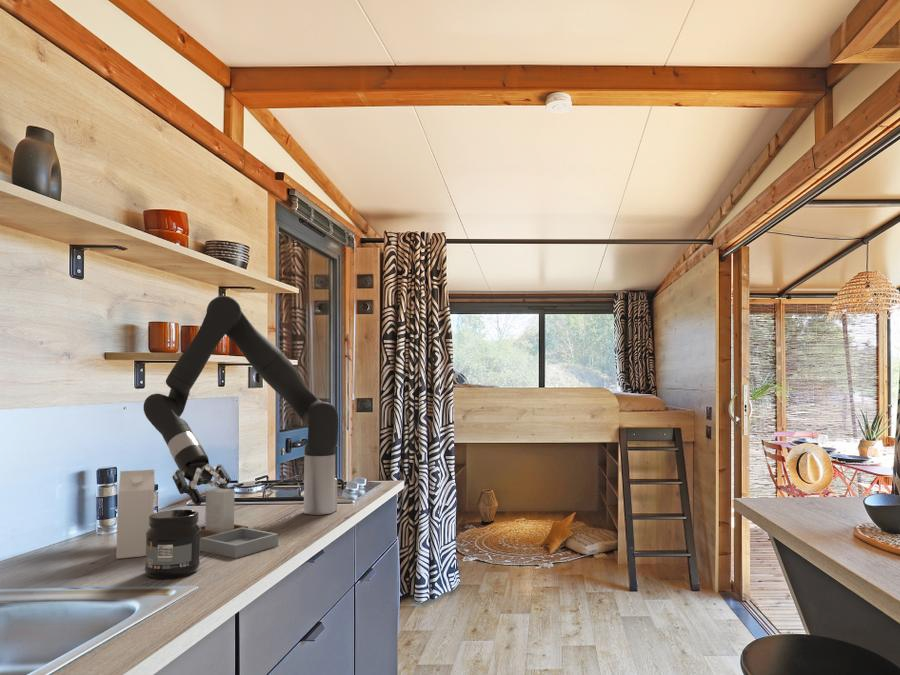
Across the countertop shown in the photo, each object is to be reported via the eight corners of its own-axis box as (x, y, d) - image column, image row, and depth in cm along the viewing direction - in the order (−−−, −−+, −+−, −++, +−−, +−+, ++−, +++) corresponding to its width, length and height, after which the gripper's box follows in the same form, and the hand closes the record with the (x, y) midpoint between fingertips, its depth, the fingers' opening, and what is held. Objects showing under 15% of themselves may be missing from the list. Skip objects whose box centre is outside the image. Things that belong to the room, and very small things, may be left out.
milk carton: (118, 551, 147) (121, 469, 148) (152, 548, 150) (154, 467, 151) (116, 559, 140) (118, 473, 142) (151, 556, 143) (153, 471, 144)
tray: (243, 538, 159) (243, 527, 159) (278, 545, 152) (278, 533, 152) (199, 550, 148) (199, 538, 148) (235, 558, 141) (235, 545, 141)
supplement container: (188, 562, 139) (189, 506, 139) (207, 572, 131) (209, 514, 132) (137, 572, 131) (139, 513, 132) (154, 584, 124) (156, 521, 124)
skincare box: (234, 536, 160) (235, 489, 161) (222, 540, 157) (223, 492, 157) (216, 534, 163) (217, 487, 164) (203, 538, 159) (205, 490, 160)
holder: (220, 531, 167) (220, 521, 167) (248, 536, 161) (248, 526, 161) (190, 538, 159) (190, 528, 159) (218, 544, 153) (218, 534, 153)
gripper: (170, 445, 161) (197, 495, 154) (217, 441, 173) (244, 487, 166) (157, 465, 164) (183, 515, 157) (204, 459, 176) (230, 505, 169)
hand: (214, 500), depth 162 cm, fingers open, 8 cm apart
